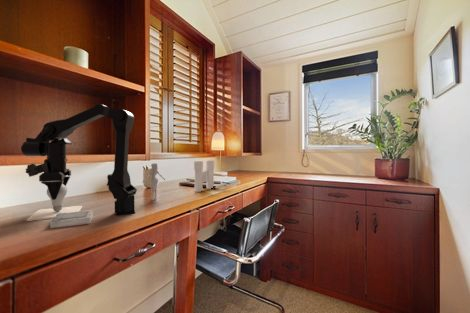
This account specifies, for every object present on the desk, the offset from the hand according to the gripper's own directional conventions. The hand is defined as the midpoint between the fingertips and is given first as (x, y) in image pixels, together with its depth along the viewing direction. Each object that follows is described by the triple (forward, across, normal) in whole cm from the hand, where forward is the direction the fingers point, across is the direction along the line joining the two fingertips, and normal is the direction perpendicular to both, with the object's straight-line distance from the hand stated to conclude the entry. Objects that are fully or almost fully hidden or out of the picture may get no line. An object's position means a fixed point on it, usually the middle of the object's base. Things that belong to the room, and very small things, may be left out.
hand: (57, 197), depth 85 cm
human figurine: (+6, -7, +36) cm, 37 cm away
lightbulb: (+6, 0, 0) cm, 6 cm away
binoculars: (+6, -24, +68) cm, 72 cm away
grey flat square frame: (+6, +14, +7) cm, 17 cm away
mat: (+6, 0, 0) cm, 6 cm away
